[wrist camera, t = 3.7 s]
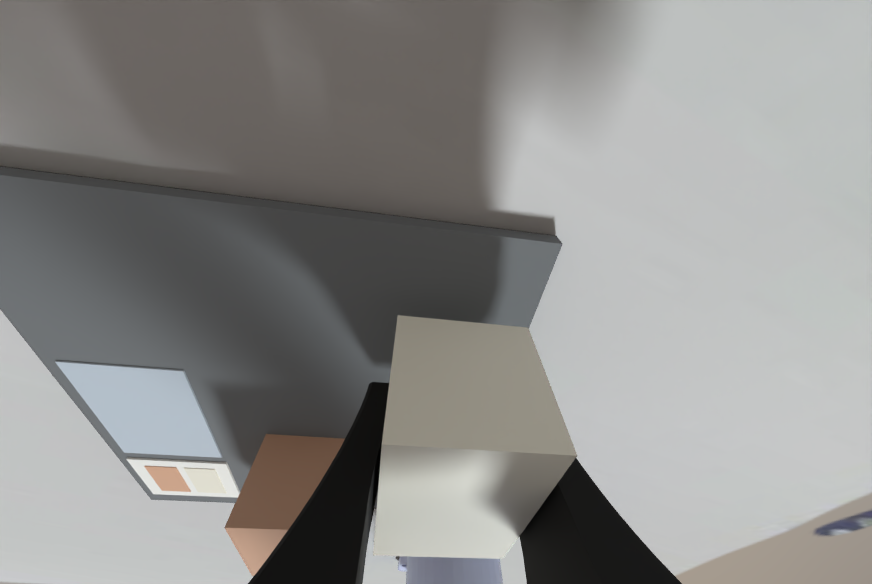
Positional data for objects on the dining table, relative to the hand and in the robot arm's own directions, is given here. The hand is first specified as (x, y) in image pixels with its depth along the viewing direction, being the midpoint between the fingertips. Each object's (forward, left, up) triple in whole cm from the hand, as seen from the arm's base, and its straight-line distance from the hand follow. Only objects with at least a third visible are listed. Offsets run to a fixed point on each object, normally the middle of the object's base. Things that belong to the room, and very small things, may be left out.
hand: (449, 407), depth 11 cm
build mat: (-5, +7, -3) cm, 9 cm away
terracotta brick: (-10, +6, -3) cm, 12 cm away
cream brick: (0, 0, -1) cm, 1 cm away
